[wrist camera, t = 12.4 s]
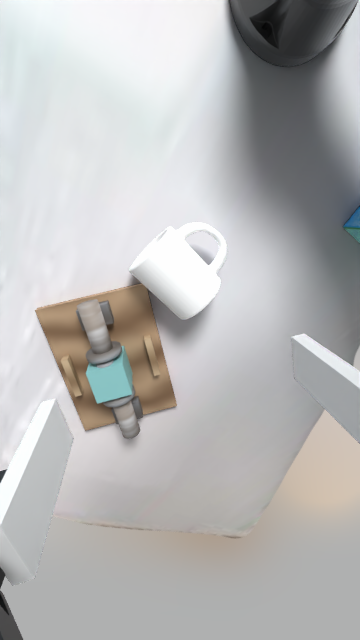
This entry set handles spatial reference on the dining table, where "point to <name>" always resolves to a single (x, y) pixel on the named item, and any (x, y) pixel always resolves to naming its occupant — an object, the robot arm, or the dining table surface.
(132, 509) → the dining table surface
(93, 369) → the block
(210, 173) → the dining table surface
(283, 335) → the dining table surface
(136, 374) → the shaft board
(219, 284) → the mug
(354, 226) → the milk carton
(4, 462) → the dining table surface
